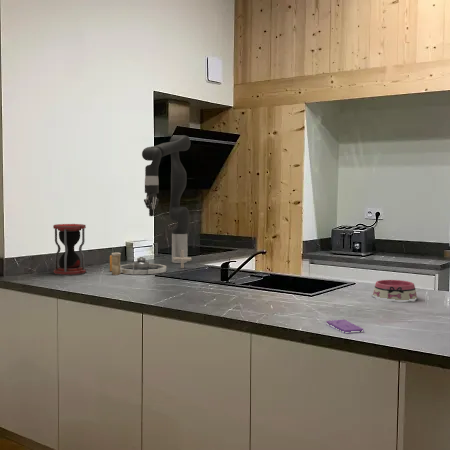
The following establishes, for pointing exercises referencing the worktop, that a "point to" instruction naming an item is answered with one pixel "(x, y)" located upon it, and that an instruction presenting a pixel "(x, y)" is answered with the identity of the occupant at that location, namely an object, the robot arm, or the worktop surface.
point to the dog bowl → (395, 289)
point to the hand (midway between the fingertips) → (151, 216)
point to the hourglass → (69, 249)
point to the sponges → (344, 325)
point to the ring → (127, 271)
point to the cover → (141, 264)
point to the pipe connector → (182, 259)
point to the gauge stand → (116, 263)
